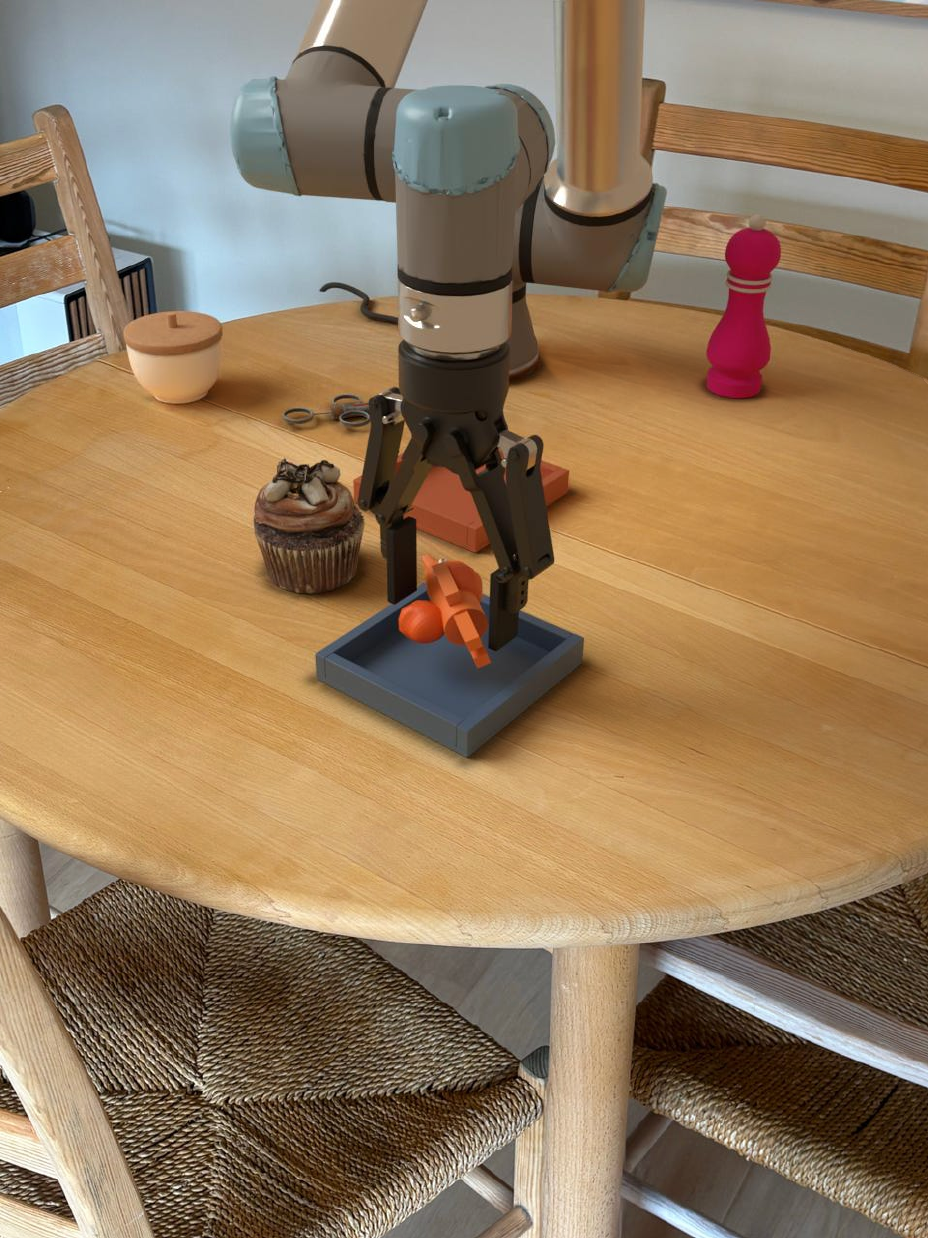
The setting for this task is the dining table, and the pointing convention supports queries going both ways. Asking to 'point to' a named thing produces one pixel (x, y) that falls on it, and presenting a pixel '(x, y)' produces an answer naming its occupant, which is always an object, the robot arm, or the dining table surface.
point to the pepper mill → (744, 314)
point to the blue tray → (448, 675)
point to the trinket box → (175, 354)
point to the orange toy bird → (448, 608)
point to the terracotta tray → (463, 504)
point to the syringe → (336, 412)
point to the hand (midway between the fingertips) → (451, 618)
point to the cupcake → (308, 528)
